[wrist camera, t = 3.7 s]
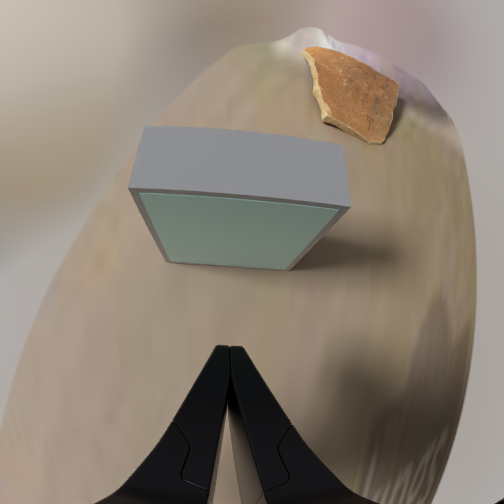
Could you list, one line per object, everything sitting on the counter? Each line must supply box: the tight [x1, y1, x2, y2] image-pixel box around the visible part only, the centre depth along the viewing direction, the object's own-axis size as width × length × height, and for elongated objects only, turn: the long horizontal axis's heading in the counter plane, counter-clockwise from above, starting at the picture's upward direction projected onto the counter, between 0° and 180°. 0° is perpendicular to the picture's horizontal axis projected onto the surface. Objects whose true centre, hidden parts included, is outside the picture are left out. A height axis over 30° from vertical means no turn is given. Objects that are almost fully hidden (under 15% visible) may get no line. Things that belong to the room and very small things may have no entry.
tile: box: [128, 126, 351, 271], centre depth 13 cm, size 2×7×8 cm, turn 88°
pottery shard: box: [301, 47, 399, 145], centre depth 22 cm, size 10×9×2 cm
